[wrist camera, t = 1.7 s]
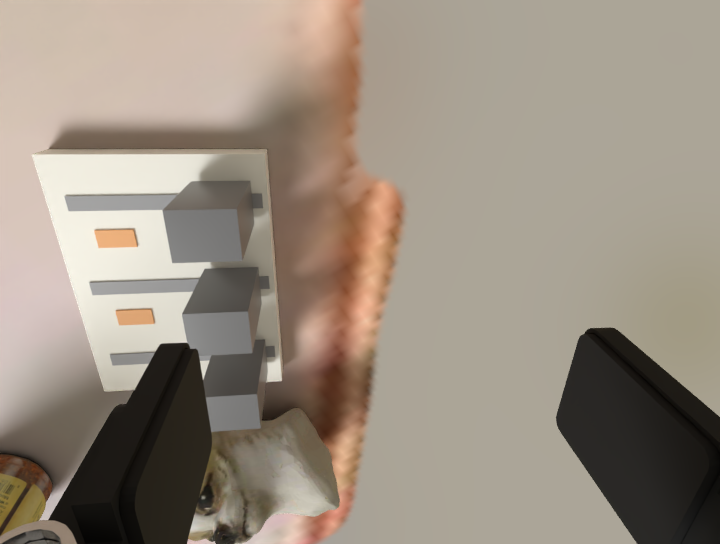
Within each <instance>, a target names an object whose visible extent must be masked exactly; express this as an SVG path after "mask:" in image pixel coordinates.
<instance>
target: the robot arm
mask: <svg viewBox="0 0 720 544" xmlns="http://www.w3.org/2000/svg"><path fill="white" fill-rule="evenodd" d="M556 421H557V426H558V429H559V430H560V432H561V433H562V435H563V436H564V438H565V439H566V441H567V442H568V444H569V445H570V446H571V448H572V450H573V451H574V452H575V454H576V455H577V457H578V458H579V460H580V461H581V462H582V464H583V465H584V467H585V468H586V470H587V471H588V473H589V474H590V476H591V477H592V478H593V480H594V481H595V483H596V484H597V486H598V487H599V489H600V490H601V492H602V493H603V495H604V496H605V497H606V499H607V500H608V502H609V503H610V505H611V506H612V508H613V509H614V511H615V512H616V513H617V515H618V516H619V518H620V519H621V521H622V522H623V524H624V525H625V527H626V528H627V529H628V531H629V532H630V534H631V535H632V537H633V538H634V540H635V541H636V542H637V544H720V417H719V416H718V415H717V414H715V413H714V412H713V411H712V410H711V409H710V408H708V407H707V406H706V405H705V404H704V403H703V402H701V401H700V400H699V399H698V398H697V397H696V396H694V395H693V394H692V393H691V392H690V391H689V390H687V389H686V388H685V387H684V386H682V385H681V384H680V383H679V382H678V381H677V380H676V379H674V378H673V377H672V376H671V375H670V374H669V373H667V372H666V371H665V370H664V369H663V368H661V367H660V366H659V365H658V364H657V363H656V362H654V361H653V360H652V359H651V358H650V357H648V356H647V355H646V354H645V353H644V352H643V351H641V350H640V349H639V348H638V347H637V346H636V345H634V344H633V343H632V342H631V341H630V340H628V339H627V338H626V337H625V336H624V335H623V334H621V333H620V332H619V331H618V330H616V329H615V328H590V329H588V330H587V331H586V332H585V334H583V335H581V336H580V338H579V340H578V343H577V347H576V350H575V353H574V357H573V360H572V364H571V367H570V371H569V374H568V378H567V381H566V385H565V388H564V391H563V395H562V398H561V402H560V405H559V409H558V412H557V416H556ZM211 448H212V433H211V427H210V420H209V414H208V408H207V402H206V396H205V389H204V383H203V377H202V371H201V365H200V359H199V353H198V350H197V349H190V346H189V344H188V343H162V344H160V345H159V347H158V348H157V350H156V352H155V354H154V355H153V357H152V359H151V361H150V363H149V364H148V366H147V368H146V370H145V372H144V374H143V375H142V377H141V379H140V381H139V383H138V384H137V386H136V388H135V390H134V392H133V393H132V395H131V397H130V399H129V401H128V402H127V404H120V405H118V406H116V407H115V408H114V409H113V411H112V412H111V414H110V415H109V417H108V419H107V420H106V422H105V424H104V425H103V427H102V429H101V431H100V432H99V434H98V436H97V437H96V439H95V441H94V443H93V444H92V446H91V448H90V449H89V451H88V453H87V455H86V456H85V458H84V460H83V461H82V463H81V465H80V467H79V468H78V470H77V472H76V473H75V475H74V477H73V479H72V480H71V482H70V484H69V485H68V487H67V489H66V491H65V492H64V494H63V496H62V497H61V499H60V501H59V503H58V504H57V506H56V508H55V509H54V511H53V513H52V514H51V516H50V518H49V520H40V521H36V522H32V523H28V524H24V525H22V526H19V527H17V528H15V529H13V530H11V531H8V532H6V533H5V534H3V535H2V536H0V544H187V541H188V537H189V533H190V529H191V526H192V522H193V518H194V514H195V510H196V507H197V503H198V499H199V495H200V491H201V488H202V484H203V480H204V476H205V472H206V469H207V465H208V461H209V457H210V453H211Z"/></svg>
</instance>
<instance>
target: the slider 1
mask: <svg viewBox="0 0 720 544" xmlns="http://www.w3.org/2000/svg"><path fill="white" fill-rule="evenodd" d="M162 211H163V216H164V222H165V227H166V232H167V238H168V243H169V248H170V254H171V259H172V263H196V262H230V261H243V258H244V255H245V252H246V249H247V246H248V242H249V239H250V236H251V233H252V230H253V227H254V214H253V203H252V192H251V181H191V182H190V183H189V184H188V185H187V186H186V187H185V188H184V189H183V190H182V191H181V192H180V193H179V194H178V195H177V196H176V197H175V198H174V199H173V200H172V201H171V202H170V203H169V204H168V205H167V206H166V207H165V208H164V209H163V210H162Z"/></svg>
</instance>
